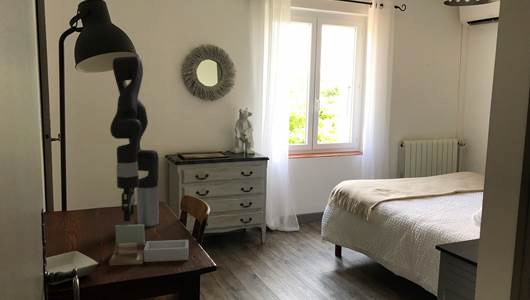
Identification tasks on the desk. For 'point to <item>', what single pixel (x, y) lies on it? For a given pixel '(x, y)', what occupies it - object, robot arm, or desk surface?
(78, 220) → the desk surface
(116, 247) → the rack
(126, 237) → the sheet
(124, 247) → the offcut top
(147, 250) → the bin
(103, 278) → the desk surface
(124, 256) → the offcut low
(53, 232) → the desk surface
